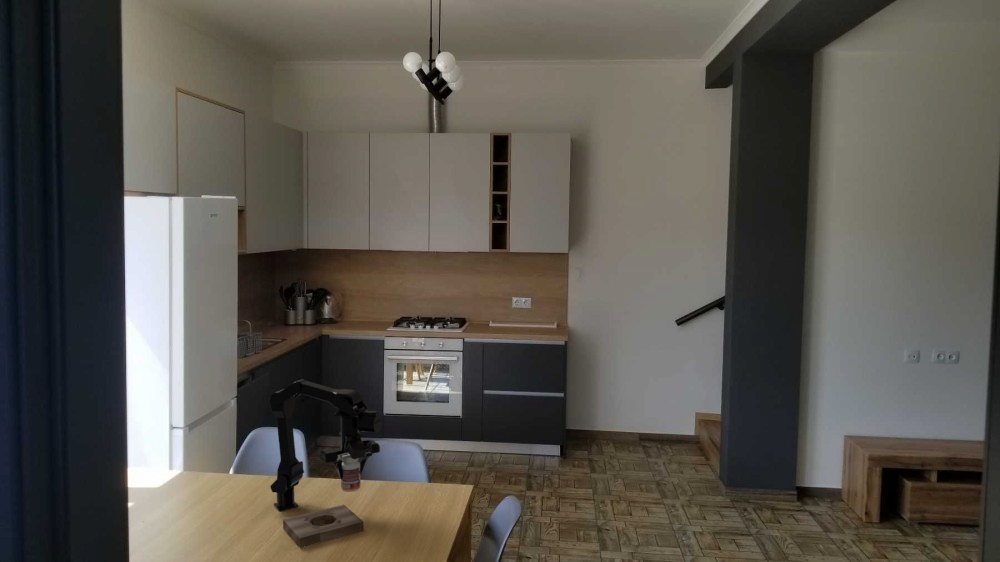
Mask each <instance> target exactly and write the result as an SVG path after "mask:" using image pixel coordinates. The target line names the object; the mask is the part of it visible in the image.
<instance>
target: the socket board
mask: <svg viewBox="0 0 1000 562" xmlns="http://www.w3.org/2000/svg"><path fill="white" fill-rule="evenodd" d="M364 527H365V525H364V521H363V519H361V518H360V517H359V516H358V515H357V514H355V512H354V511H352V510H351V509H350V508H349V507H348V506H346V505H345V504H340V505H337V506H333V507H328V508H325V509H324V508H323V509H319V510H317V511H312V512H308V513H304V514H299V515H295V516H289V517H288V518H287V517H286V518H283V519H282V528H283V530H284V531H285V532H286V535H287V534H288V536H289V537H290V538H291V540H292V541H293V542H294V543H295V544H296V546H297V547H298V546H299V547H300V548H299V549H302V548H305V547H304V546H306V547H309V546H313V545H316V544H319V543H323V542H328V541H331V540H335V539H339V538H342V537H345V536H349V535H353V534H357V533H361V532H364V529H365V528H364ZM301 547H302V548H301Z"/></svg>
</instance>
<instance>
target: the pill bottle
mask: <svg viewBox="0 0 1000 562" xmlns="http://www.w3.org/2000/svg"><path fill="white" fill-rule="evenodd" d="M341 460H342V461H343V462H342V474H343V476H342V479H340V484H341V485H340V486H341V488H340V489H341V490H342V491H343V492H345V493H346V492H347V493H352V492H358V491H359V490H360V489H361V475H360V463H359V462H358V458H357V459H352V458H351V456H350V454H348V455H343V456H341Z"/></svg>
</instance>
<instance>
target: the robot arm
mask: <svg viewBox="0 0 1000 562" xmlns="http://www.w3.org/2000/svg"><path fill="white" fill-rule="evenodd" d="M301 395H303V396H307V397H311V398H314V399H317V400H320V401H324V402H327V403H330V404H331V405H332V406H333V407H334V408H336V409H337V412H335V413H334V417H340V431H339V432H338V433H339V436H340V444H339V448H340V449H338V450H337V449H336V450H335V449H333V448H332V447H330V448H324V449H321V450H320V451H319V459H320V460H321V461H322V462H323V463H325V464H327V463H328V464H330V463H332V464H333V465H334V467H335V470H336V472H337V474H338V477H339V480H341V479H342V476H343V474H342V463H343V461H342V456H343V455H348V454H350V456H351V458H352V459H357V458H358V462H359V463H360V476H361V475H362V473H363V470H364V467H365V464H366V463H367V460H368V459H369V458H370V457H372V456H373V454H377V453H380V452H381V447H380V444H379V442H376V441H375V440H373V439H366V440H362V435H361V433H362V432H363V433H372V434H379V432H380V431H381V429H382V426H383V419H382V417H381V415H379V413H380V412H379V411H378V410H369V408H368V406H367V405H366V404H365V402H364V400H363V399H362V395H360V392H359V391H358V390H355V389H347V388H341V389H339V388H333V387H330V386H329V387H328V386H327V385H326V386H325V385H322V384H319V383H315V382H312V381H309V380H307V379H303V378H301V379H299V380H296V381H294V382H293V383H292V384H290V385H289V386H287V387H286V388H283V389H281V390H278V391H275V392H273V393H272V394H271V395H270V396H269V398H268V403H269V406H270V410H271V412H272V414H273V416H274V417H275V419H276V428H277V436H278V444H279V445H278V447H279V448H278V449H279V456H280V457H279V458H280V462H279V464H278V467H277V472H276V479H275V480H274V481H273V483H271V485H270V490H271V492H272V493H276V502H274V503H273V507H275V508H276V510H278V511H279V512H281V511H286V510H290V509H294V508H298V507H299V504H298V503H297V502H296V500H295V498H296V497H295V487H296V486H298V485H299V483H300V481H301V480H302V479H303V478H304V477H303V476H304V473H305V470H304V461H299V459H298V458H297V456H296V455H297V454H296V446H295V444H296V443H295V436H294V427H293V425H294V424H293V416H292V415H293V412H294V410H295V407H296V398H298V397H299V396H301ZM355 408H356V409H355ZM360 432H361V433H360Z"/></svg>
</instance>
